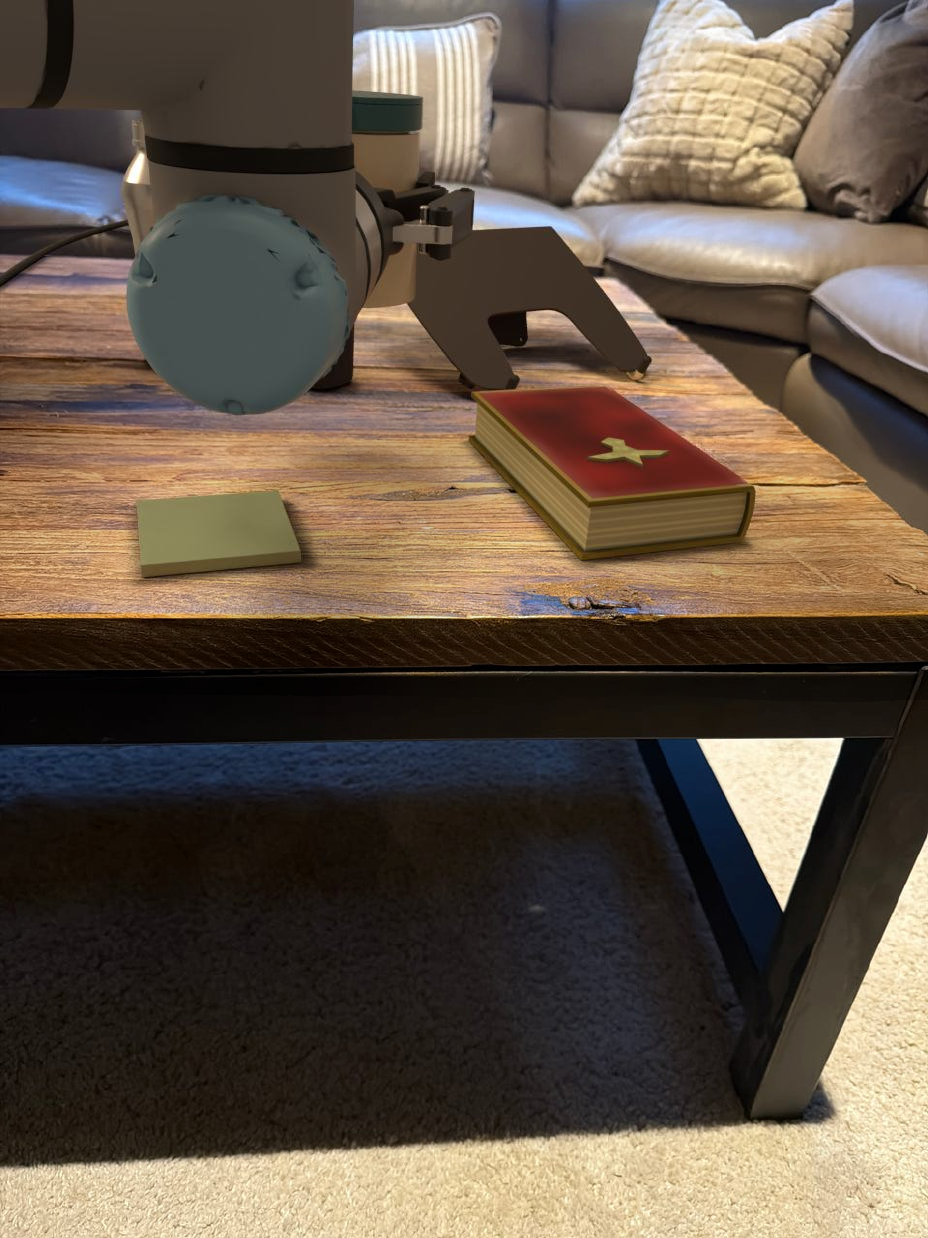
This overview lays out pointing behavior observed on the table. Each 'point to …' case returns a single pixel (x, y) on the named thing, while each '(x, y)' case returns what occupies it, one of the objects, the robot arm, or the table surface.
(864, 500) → the table surface
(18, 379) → the table surface
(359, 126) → the jar lid
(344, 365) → the two-way radio
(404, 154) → the jar
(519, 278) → the laptop tray
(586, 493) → the hardcover book
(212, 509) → the coaster
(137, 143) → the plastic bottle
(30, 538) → the table surface
